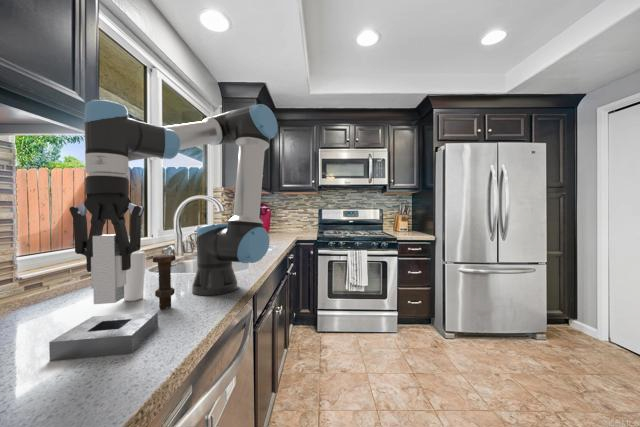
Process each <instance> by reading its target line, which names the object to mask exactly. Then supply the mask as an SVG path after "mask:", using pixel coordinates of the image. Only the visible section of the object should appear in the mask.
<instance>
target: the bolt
mask: <svg viewBox="0 0 640 427" xmlns="http://www.w3.org/2000/svg"><path fill="white" fill-rule="evenodd" d="M175 261H176V255H174V254H161V255H160V254H159V255H155V256H154V257H153V258H152V262H153V263H157V269H158V288H157V289H156V290H155V291H154V295H155V297H156V298H158V308H159V309H160V310H166V309H170V308H171V307H172V296H174V294H175V288H174V287H172V277H171V276H172V273H171V271H172V270H171V269H172V268H171V267H172V262H175Z"/></svg>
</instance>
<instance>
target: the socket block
mask: <svg viewBox="0 0 640 427" xmlns="http://www.w3.org/2000/svg"><path fill="white" fill-rule="evenodd" d="M158 327H159V312H158V311H151V312H149V311H148V312H136V313H122V314H121V313H120V314H109V315H107V314H106V315H95V316H91V317H89V318H88V319H86V320H83V322H80V323H79V324H77V325H75V326H74V327H72V328H70V329H69V330H67V331H65V332H63V333H62V334H61V335H59V336H57V337H56V338H53V339H52V340H51V341H49V343H48V344H49V345H48V346H49V348H48V349H49V353H48V354H49V362H52V361H53V362H55V361H63V360H73V359H74V360H77V359H83V358H84V359H85V358H93V357H94V358H96V357H105V356H117V355H127V354H133V353H134V352H135V351H136V350H137V349H138V348H139V347H140V346H141V344H143V343H144V342H145V341H146V340H147V338H148V337H149V336H150V335H151V334H152V333H153V332H154V331H155V330H156V329H157V328H158Z"/></svg>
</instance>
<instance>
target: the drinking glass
mask: <svg viewBox="0 0 640 427" xmlns="http://www.w3.org/2000/svg"><path fill="white" fill-rule="evenodd" d="M146 263H147V262H146V252H145V251H144V250H139V251H136V252H133V253H132V254H131V267H130V269H128V270H126V280H127V284H126V285H124V298H123V300H124V301H125V302H135V301H139V300H142V299H143V298H144V297H145V296H144V290H145V274H146Z"/></svg>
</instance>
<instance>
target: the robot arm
mask: <svg viewBox="0 0 640 427" xmlns="http://www.w3.org/2000/svg"><path fill="white" fill-rule="evenodd" d="M84 107H85V108H84V116H83V124H84V126H83V127H84V146H85V147H84V148H85V151H84V152H85V154H84V156H85V157H84V162H85V166H84V170H85V174H87V175H88V176H86V177H85V183H84V184H85V187H84V188H85V195H86V198H85V200H84V201H83V204H80V205H77V206H70V207H69V209H68V210H69V212H70V214H71V216H72V222H73V238H74V252H75V254H77V255H82V256H84V257H86V270H87V273H90V276H91V277H90V279H91V280H90V281H91V282H90V284H91V289H93V236H97V235H103V231H104V226H105V224H106V222H107V221H110V223H111V224H112V225H113V229H114V234H116V238H117V242H118V246H119V250H120V254H119V256H116V269H117V287H122V286H124V285H126V284H127V280H126V270H128V269H130V267H131V254H132V253H133V252H136V251H141V243H142V242H141V238H142V232H141V231H142V216H143V213H144V211H145V207H144V206H142V205H137V204H134V203H132V201H131V199H130V197H129V196H130V181H129V179H128V176H129V175H130V172H129V171H130V170H129V167H130V166H129V162H131V161H138V160H142V159H149V158H158V159H160V160H161V159H162V160H163V159H164V160H166V159H167V160H171V159H175V157H176V156H177V155H178V154H179V152H180V151H182V150H186V149H189V148H194V147H199V146H206V145H209V146H210V145H211V146H218V145H225V144H227V145H230V144H236V145H237V146H238V159H237V169H236V171H237V172H236V182H235V191H234V193H235V194H234V204H233V216H232V217H230V219H228V220H227V222H225V223H224V222H223V223H214V224H213V223H212V224H207V225H202V226H199V227H198V228H197V230H196V237H195V239H196V262H197V264H196V265H197V266H196V267H197V269H196V273H195V276H194V278H193V279H194V280H193V282H192V286H191V287H192V288H191V290H192V293H193V294H194V295H199V296H213V295H222V294H227V293H231V292H233V291H235V290H238V288H239V287H238V279H237V276H236V275H235V274H236V273H235V271H234V268H233V263H234V262H235V263H242V264H250V263H251V264H254V263H258V262H259V261H261V260H262V259H263V258H264V257H265V256H266V254H267V253H268V250H269V247H270V235H268V234H269V233H268V231H267V229H266V228H264V221H262V219H261V218H260V214H261V202H262V201H261V200H262V190H263V189H262V187H263V176H264V175H263V174H264V164H265V163H264V162H265V152H266V151H267V149H269V148H270V141H271V139H273V138H275V137H276V136H277V134H278V121H277V118H276V116H275V114H274V112H273V111H272V110H271V108H270V107H269V106H267V105H266V104H263V103H259V104H251V105H250V106H246V107H242V108H238V109H232V110H229V111H225V112H222V113H220V114H218V115H214V116H208V117H205V118H204V119H202V121H194V122H187V123H181V124H179V123H178V124H172V125H164V126H159V125H155V124H152V123H151V124H150V123H148V122H147V123H146V122H144V121H141V120H140V121H139V120H136V119H133V118H130V117H129V112H128V111H129V110H128V109H127V107H126V106H125V105H122V104H120V103H118V102H115V101H111V100H105V99H94V100H93V99H91V101H88V102H86V104H85V106H84ZM128 211H129V214H130V219H129V235H128V232H127V231H128V230H127V227H126V218H125V214H126V213H127V212H128ZM88 212H89V214H90V215H91V218H90V225H91V226H90V228H89V231H88V218H87V214H88ZM88 232H89V233H88ZM237 287H238V288H237Z"/></svg>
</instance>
